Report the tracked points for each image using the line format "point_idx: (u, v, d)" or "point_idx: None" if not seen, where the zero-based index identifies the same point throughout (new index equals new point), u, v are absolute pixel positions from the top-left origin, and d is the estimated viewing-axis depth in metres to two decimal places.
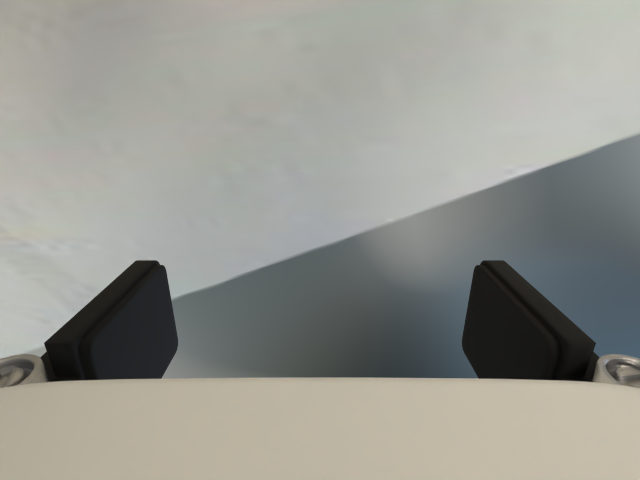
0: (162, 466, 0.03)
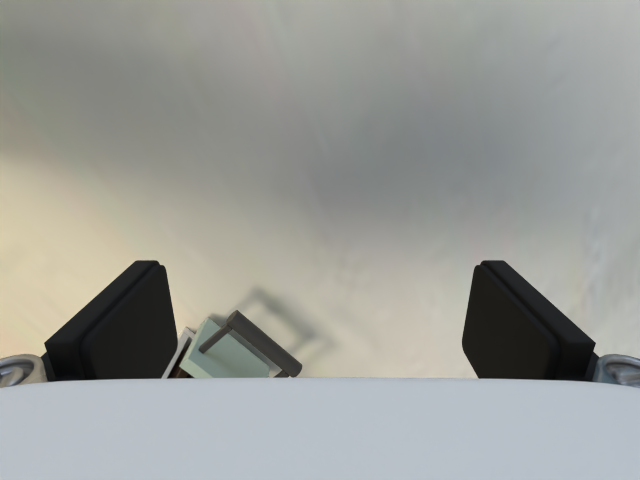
0: (162, 467, 0.03)
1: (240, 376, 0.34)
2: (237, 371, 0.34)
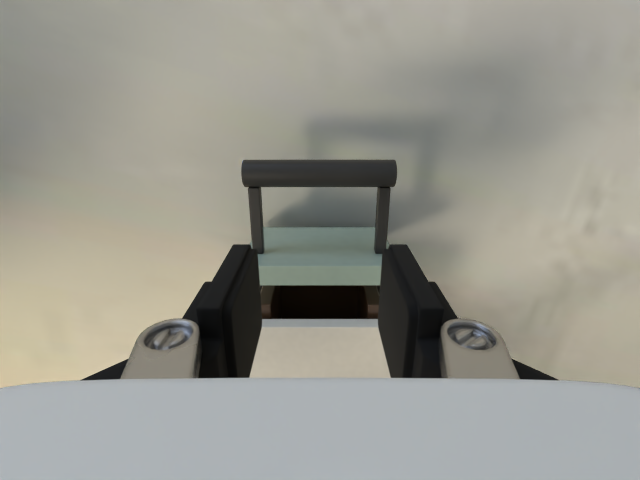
0: (161, 466, 0.03)
1: (337, 249, 0.21)
2: (328, 247, 0.22)
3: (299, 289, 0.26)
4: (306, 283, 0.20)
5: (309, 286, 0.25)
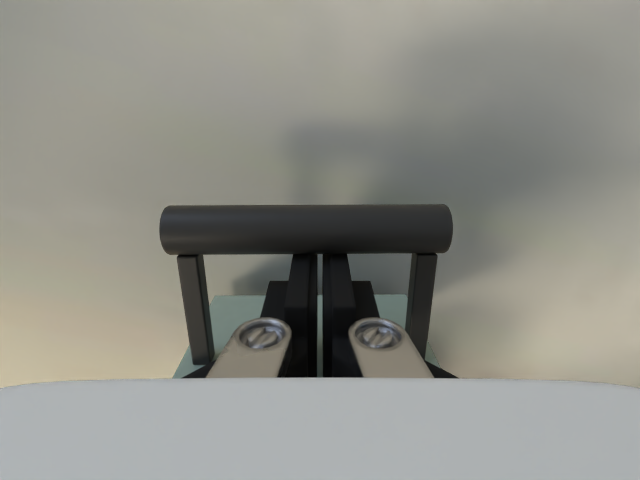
0: (162, 467, 0.03)
1: None
2: None
3: None
4: None
5: None
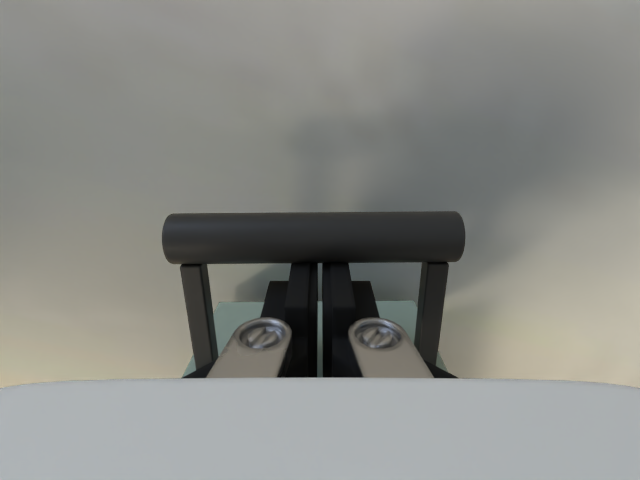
0: (161, 466, 0.03)
1: None
2: None
3: None
4: None
5: None
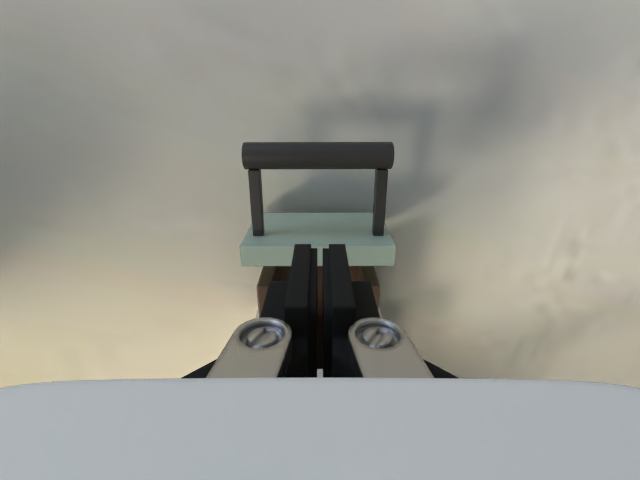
0: (161, 466, 0.03)
1: (336, 232, 0.22)
2: (327, 230, 0.22)
3: None
4: None
5: None
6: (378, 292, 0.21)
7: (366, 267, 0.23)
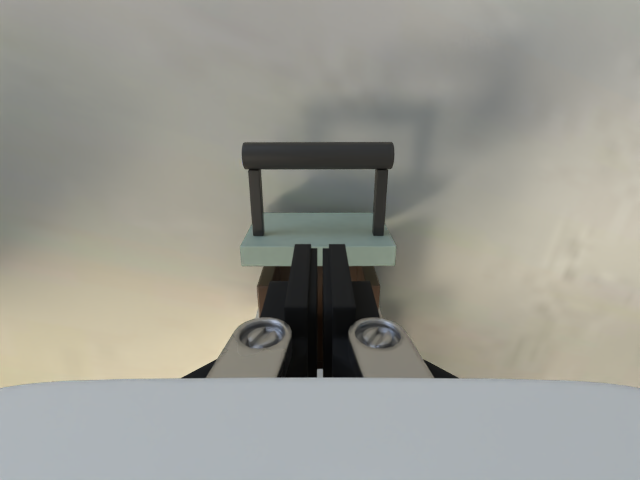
0: (161, 466, 0.03)
1: (336, 232, 0.22)
2: (327, 230, 0.22)
3: None
4: None
5: None
6: (378, 292, 0.21)
7: (366, 267, 0.23)
